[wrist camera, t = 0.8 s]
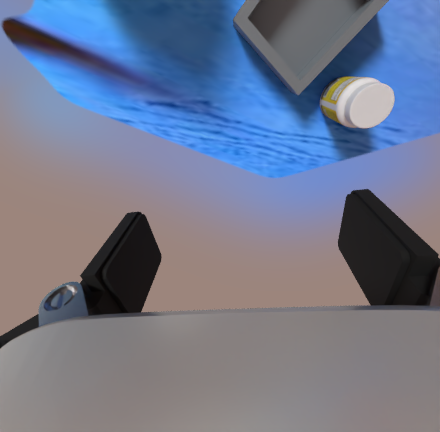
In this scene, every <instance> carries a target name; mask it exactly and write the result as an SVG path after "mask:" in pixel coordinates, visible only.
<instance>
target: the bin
mask: <svg viewBox="0 0 440 432" xmlns="http://www.w3.org/2000/svg"><path fill="white" fill-rule="evenodd" d="M388 1H389V0H246V1H245V2H244V4H243V5H242V7H241V8H240V10H239V11H238V13H237V14H236V16H235V17H234V19H233V26H234V27H235V28H236V29H237V31H238V32H239V33H240V34H241V35H242V36H243V38H244V39H245V40H246V41H247V42H248V43H249V44H250V46H251V47H252V48H253V49H254V50H255V51H256V52H257V54H258V55H259V56H260V57H261V58H262V59H263V61H264V62H265V63H266V64H267V65H268V66H269V67H270V69H271V70H272V71H273V72H274V73H275V74H276V75H277V77H278V78H279V79H280V80H281V81H282V82H283V84H284V85H285V86H286V87H287V88H288V89H289V90H290V92H292V93H294V94H296V95H299V94H300V93H301V92H302V91H303V90H304V89H305V88H306V87H307V86H308V85H309V84H310V83H311V82H312V81H313V80H314V79H315V78H316V76H317V75H318V74H319V73H320V72H321V71H322V70H323V69H324V68H325V67H326V66H327V65H328V64H329V63H330V62H331V61H332V60H333V59H334V58H335V56H336V55H337V54H338V53H339V52H340V51H341V50H342V49H343V48H344V47H345V46H346V45H347V44H348V43H349V42H350V41H351V40H352V39H353V38H354V36H355V35H356V34H357V33H358V32H359V31H360V30H361V29H362V28H363V27H364V26H365V25H366V24H367V23H368V22H369V21H370V20H371V19H372V18H373V16H374V15H375V14H376V13H377V12H378V11H379V10H380V9H381V8H382V7H383V6H384V5H385V4H386V3H387V2H388Z"/></svg>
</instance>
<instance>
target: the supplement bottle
mask: <svg viewBox="0 0 440 432" xmlns="http://www.w3.org/2000/svg"><path fill="white" fill-rule="evenodd" d="M393 105H394V92H393V90H392V89H391V88H390V87H389V86H388V85H386V84H383V83H380V82H379V81H378V80H376V79H374V78H369V77H348V76H345V77H339V78H336V79H335V80H333V81H331V82H330V83H329V84H328V85H327V86H326V87H325V89H324V90H323V92H322V94H321V97H320V108H321V111H322V113H323V114H324V115H325V116H327V117H328V118H330V119H332V120H334V121H336V122H338V123H340V124H342V125H344V126H346V127H351V128H356V127H358V128H371V127H374V126H376V125H378V124H379V123H381V122H382V121H383V120H384V119H385V118H386V117H387V116H388V115H389V113H390V112H391V110H392V108H393Z"/></svg>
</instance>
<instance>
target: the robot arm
mask: <svg viewBox="0 0 440 432" xmlns="http://www.w3.org/2000/svg"><path fill="white" fill-rule="evenodd" d="M338 247H339V250H340V251H341V253H342V255H343V257H344V259H345V260H346V262H347V264H348V265H349V267H350V269H351V271H352V273H353V275H354V276H355V278H356V280H357V282H358V283H359V285H360V287H361V289H362V291H363V292H364V294H365V296H366V298H367V299H368V301H369V303H370V306H323V307H287V308H286V307H285V308H255V309H224V310H223V309H222V310H193V311H168V312H167V311H166V312H141V311H142V308H143V306H144V303H145V301H146V298H147V295H148V293H149V290H150V288H151V285H152V283H153V280H154V278H155V275H156V272H157V270H158V267H159V265H160V262H161V253H160V250H159V248H158V245H157V243H156V241H155V238H154V236H153V233H152V231H151V228H150V226H149V223H148V221H147V218H146V216H145V215H144V214H142V213H141V212H131V213H127V214H126V215H125V217H124V218H123V220H122V221H121V222H120V223H119V225H118V226H117V227H116V229H115V230H114V231H113V233H112V234H111V235H110V237H109V238H108V239H107V241H106V242H105V243H104V245H103V246H102V247H101V249H100V250H99V251H98V253H97V254H96V255H95V257H94V258H93V259H92V261H91V262H90V263H89V265H88V266H87V268H86V269H85V270H84V271H83V273H82V274H81V275H80V276H81V277H82V279H83V280H82V281H81V283H78V282H68V283H65V284H62V285H60V286H58V287H57V288H55V289H53V290H52V291H51V292H50V293H48V294H47V295H46V296H45V298H44V299H43V300H42V302H41V303H40V306H39V314H38V315H36V316H34V317H32V318H31V319H29V320H27V321H26V322H24V323H22V324H20V325H19V326H17V327H15V328H14V329H12V330H10V331H9V332H7V333H5V334H4V335H2V336H0V432H440V259H439V258H438V254H437V253H436V252H435V251H434V250H433V249H432V248H431V247H430V246H429V245H428V244H427V243H426V242H425V241H423V240H422V239H421V238H420V237H419V236H418V235H417V234H416V233H415V232H414V231H413V230H412V229H411V228H409V227H408V226H407V225H406V224H405V223H404V222H403V221H402V220H401V219H400V218H399V217H398V216H397V215H396V214H395V213H394V212H392V211H391V210H390V209H389V208H388V207H387V206H386V205H385V204H384V203H383V202H382V201H380V199H378V198H377V197H376V196H375V195H374V194H373V193H372V192H371V191H370V190H368V189H364V190H355V191H352V192H351V194H348V195H347V197H346V201H345V207H344V212H343V217H342V223H341V228H340V234H339V239H338Z"/></svg>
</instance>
